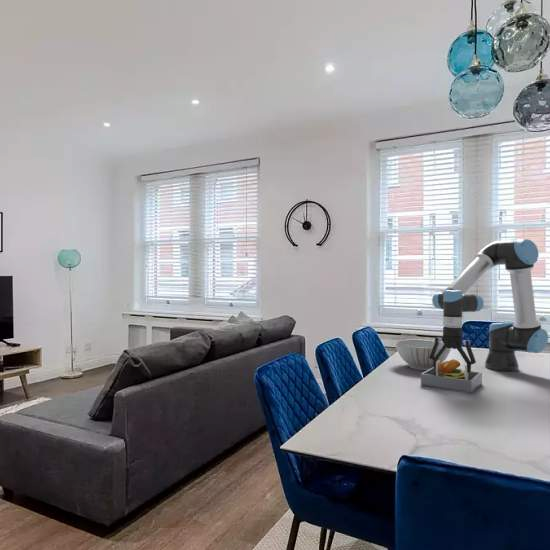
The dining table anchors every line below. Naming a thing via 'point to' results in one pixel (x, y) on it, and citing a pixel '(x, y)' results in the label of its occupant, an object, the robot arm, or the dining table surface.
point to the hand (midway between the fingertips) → (451, 378)
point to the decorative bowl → (420, 353)
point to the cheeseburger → (451, 369)
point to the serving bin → (451, 381)
